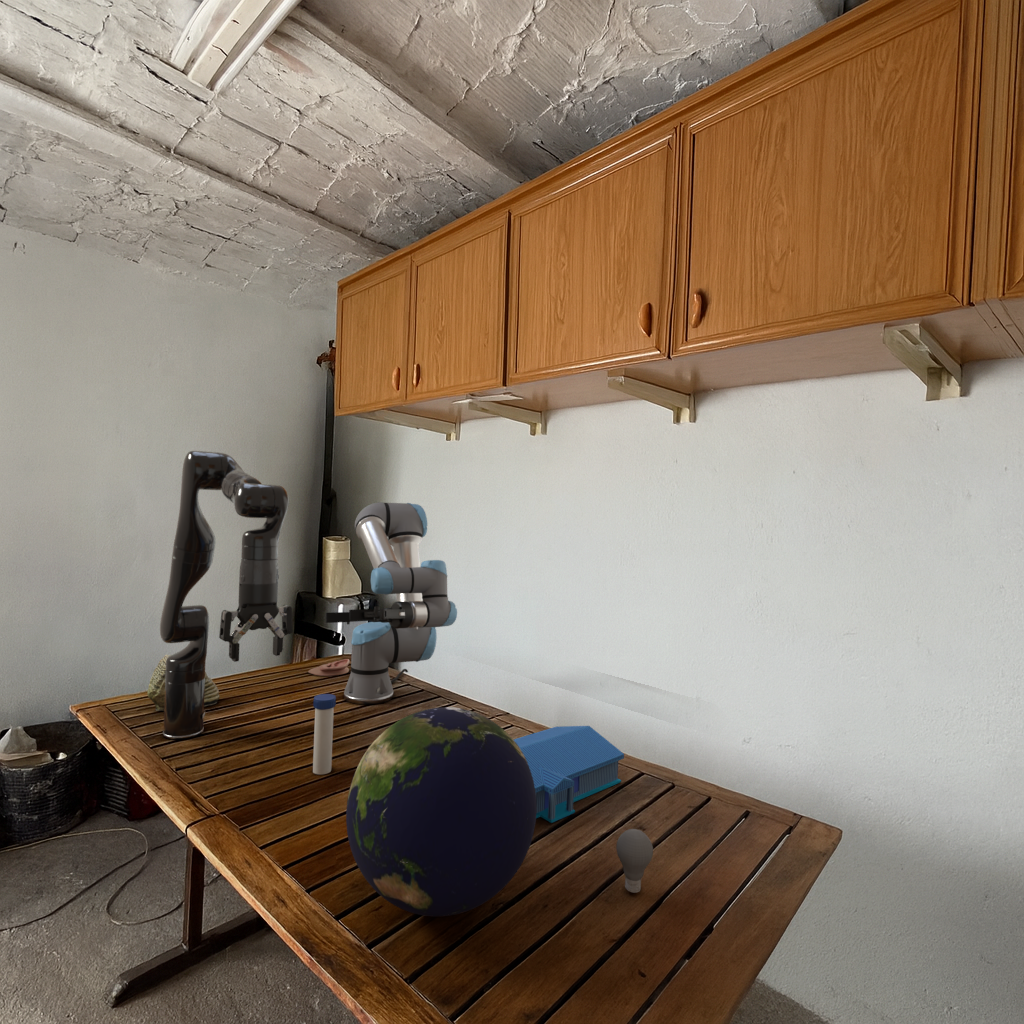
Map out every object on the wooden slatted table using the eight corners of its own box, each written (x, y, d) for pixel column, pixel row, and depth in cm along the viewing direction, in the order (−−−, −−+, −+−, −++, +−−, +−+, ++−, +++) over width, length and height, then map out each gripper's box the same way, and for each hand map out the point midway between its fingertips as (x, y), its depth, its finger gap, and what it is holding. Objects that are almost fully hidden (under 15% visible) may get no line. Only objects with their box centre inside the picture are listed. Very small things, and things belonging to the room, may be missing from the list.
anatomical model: (304, 662, 222) (320, 655, 233) (303, 674, 222) (320, 665, 234) (339, 666, 220) (353, 658, 231) (338, 677, 220) (353, 669, 231)
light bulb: (610, 879, 108) (613, 822, 108) (644, 879, 109) (647, 822, 109) (619, 902, 102) (622, 840, 102) (655, 901, 103) (658, 840, 103)
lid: (309, 708, 144) (309, 699, 144) (319, 701, 149) (319, 692, 149) (329, 710, 143) (330, 701, 143) (339, 703, 148) (339, 694, 148)
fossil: (144, 707, 182) (145, 655, 182) (212, 696, 194) (213, 647, 194) (151, 716, 175) (153, 662, 175) (221, 703, 188) (223, 653, 188)
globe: (300, 927, 93) (307, 725, 93) (407, 832, 121) (414, 676, 120) (484, 995, 82) (495, 765, 81) (556, 873, 110) (564, 701, 109)
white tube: (309, 773, 145) (312, 700, 144) (317, 766, 149) (320, 695, 148) (326, 775, 144) (329, 702, 144) (334, 768, 148) (337, 697, 148)
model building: (505, 843, 118) (507, 790, 118) (429, 794, 136) (431, 748, 136) (632, 786, 145) (634, 743, 144) (555, 752, 163) (557, 713, 163)
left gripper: (284, 576, 139) (281, 649, 139) (216, 579, 129) (213, 658, 130) (299, 580, 134) (296, 656, 134) (230, 584, 124) (227, 667, 124)
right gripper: (432, 626, 170) (360, 629, 156) (385, 629, 188) (317, 632, 174) (431, 598, 171) (360, 598, 157) (384, 604, 189) (317, 605, 175)
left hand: (256, 657), depth 132 cm, fingers open, 8 cm apart
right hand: (337, 616), depth 166 cm, fingers open, 13 cm apart
